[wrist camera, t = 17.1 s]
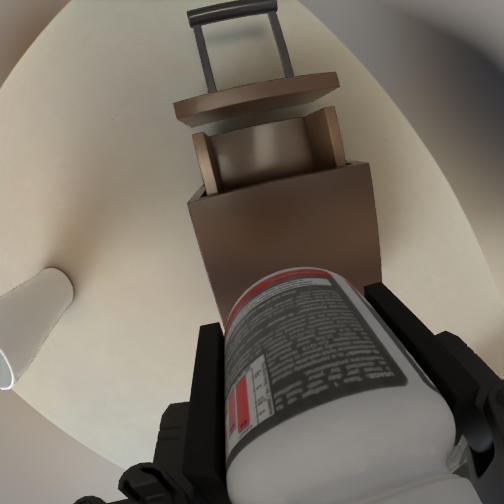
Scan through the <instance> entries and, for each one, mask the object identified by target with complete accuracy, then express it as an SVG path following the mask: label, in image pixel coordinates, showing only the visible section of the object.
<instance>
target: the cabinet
mask: <svg viewBox="0 0 504 504" xmlns="http://www.w3.org/2000/svg"><path fill="white" fill-rule="evenodd" d="M346 165H347V166H341V167H336V168H331V169H325V170H320V171H315V172H310V173H305V174H301V175H296V176H291V177H286V178H282V179H277V180H273V181H268V182H264V183H260V184H255V185H251V186H247V187H242V188H238V189H234V190H230V191H226V192H222V193H218V194H214V195H210V196H207V193H206V189H205V186H202V187H200V188H199V190H198V191H197V192H196V193H195V194H194V195H193V197H192V198H191V199H190V200H189V201H188V203H187V205H188V209H189V213H190V216H191V220H192V223H193V227H194V230H195V234H196V237H197V241H198V244H199V248H200V251H201V255H202V258H203V261H204V265H205V268H206V271H207V275H208V278H209V281H210V284H211V288H212V291H213V294H214V297H215V301H216V304H217V307H218V310H219V313H220V316H221V319H222V322H223V326H224V329H226V324H227V320H228V317H229V315H230V312H231V310H232V308H233V307H234V305H235V303H236V302H237V301H238V299H239V298H240V297H241V296H242V294H243V293H244V292H245V291H246V290H247V289H248V288H250V287H251V286H252V285H253V284H255V283H256V282H258V281H259V280H261V279H262V278H264V277H266V276H268V275H270V274H273V273H275V272H278V271H281V270H285V269H289V268H297V267H314V268H320V269H325V270H328V271H331V272H333V273H336V274H338V275H340V276H342V277H343V278H345V279H346V280H347V281H349V282H350V283H351V284H352V285H353V286H354V287H356V288H357V290H358V291H359V292H360V293H361V294H362V295H363V297H364V286H367V285H370V284H374V283H377V282H382V272H381V258H380V246H379V235H378V225H377V216H376V208H375V200H374V193H373V186H372V179H371V173H370V167H369V163H365V162H358V161H349V160H346Z"/></svg>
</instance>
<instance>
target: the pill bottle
mask: <svg viewBox="0 0 504 504" xmlns="http://www.w3.org/2000/svg"><path fill="white" fill-rule="evenodd" d="M224 399H225V461H226V482H227V491H228V496H229V498H230V501H231V503H232V504H482V502H481V500H480V498H479V496H478V495H477V493H476V491H475V489H474V487H473V486H472V484H471V482H470V481H469V480H468V479H467V478H462V477H460V476H459V475H456V474H451V473H450V472H449V470H448V468H447V466H446V464H447V462H448V460H449V458H450V456H451V453H452V451H453V447H454V443H455V435H456V428H455V422H454V417H453V414H452V412H451V410H450V408H449V406H448V405H447V403H446V401H445V399H444V398H443V396H442V395H441V393H440V392H439V391H438V389H437V388H436V387H435V386H434V384H433V383H432V382H431V380H430V379H429V377H428V376H427V375H426V374H425V373H424V371H423V370H422V369H421V367H420V366H419V365H418V364H417V362H416V361H415V360H414V358H413V357H412V356H411V355H410V353H409V352H408V351H407V349H406V348H405V347H404V345H403V344H402V343H401V342H400V340H399V339H398V338H397V337H396V336H395V334H394V333H393V332H392V331H391V329H390V328H389V327H388V326H387V324H386V323H385V322H384V321H383V319H382V318H381V317H380V316H379V315H378V313H377V312H376V311H375V310H374V308H373V307H372V306H371V305H370V304H369V303H368V302H367V300H366V299H365V298H364V297H363V295H362V294H361V293H360V292H359V291H358V290H357V288H356V287H354V286H353V285H352V284H351V283H350V282H349V281H347V280H346V279H345V278H343V277H342V276H340V275H338V274H336V273H333V272H331V271H328V270H325V269H320V268H314V267H297V268H289V269H285V270H281V271H278V272H275V273H273V274H270V275H268V276H266V277H264V278H262V279H261V280H259V281H258V282H256V283H255V284H253V285H252V286H251V287H250V288H248V289H247V290H246V291H245V292H244V293H243V294H242V296H241V297H240V298H239V299H238V301H237V302H236V303H235V305H234V307H233V308H232V310H231V312H230V315H229V317H228V320H227V324H226V329H225V333H224Z"/></svg>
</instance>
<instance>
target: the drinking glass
mask: <svg viewBox="0 0 504 504" xmlns="http://www.w3.org/2000/svg"><path fill="white" fill-rule="evenodd" d="M73 296H74V292H73V287H72V284H71V282H70V280H69V279H68V277H67V276H66V275H65V274H64V273H63V272H61V271H60V270H58V269H55V268H46V269H44V270H42V271H41V272H39V273H38V274H37V275H35V276H33V277H32V278H30V279H28V280H27V281H25V282H23V283H22V284H20V285H18V286H17V287H15V288H13V289H12V290H10V291H8V292H7V293H5V294H3V295H2V296H0V389H3V390H8V389H11V388H12V387H13V386H14V384H15V383H16V382H17V381H18V380H19V379H20V377H21V376H22V375H23V374H24V372H25V371H26V370H27V368H28V367H29V366H30V364H31V363H32V361H33V360H34V358H35V357H36V355H37V354H38V352H39V350H40V349H41V347H42V345H43V344H44V342H45V341H46V339H47V337H48V336H49V334H50V333H51V331H52V330H53V328H54V327H55V325H56V324H57V322H58V321H59V319H60V318H61V316H62V315H63V313H64V312H65V311H66V310H67V309H68V308H69V306H70V305H71V303H72V301H73Z"/></svg>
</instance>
